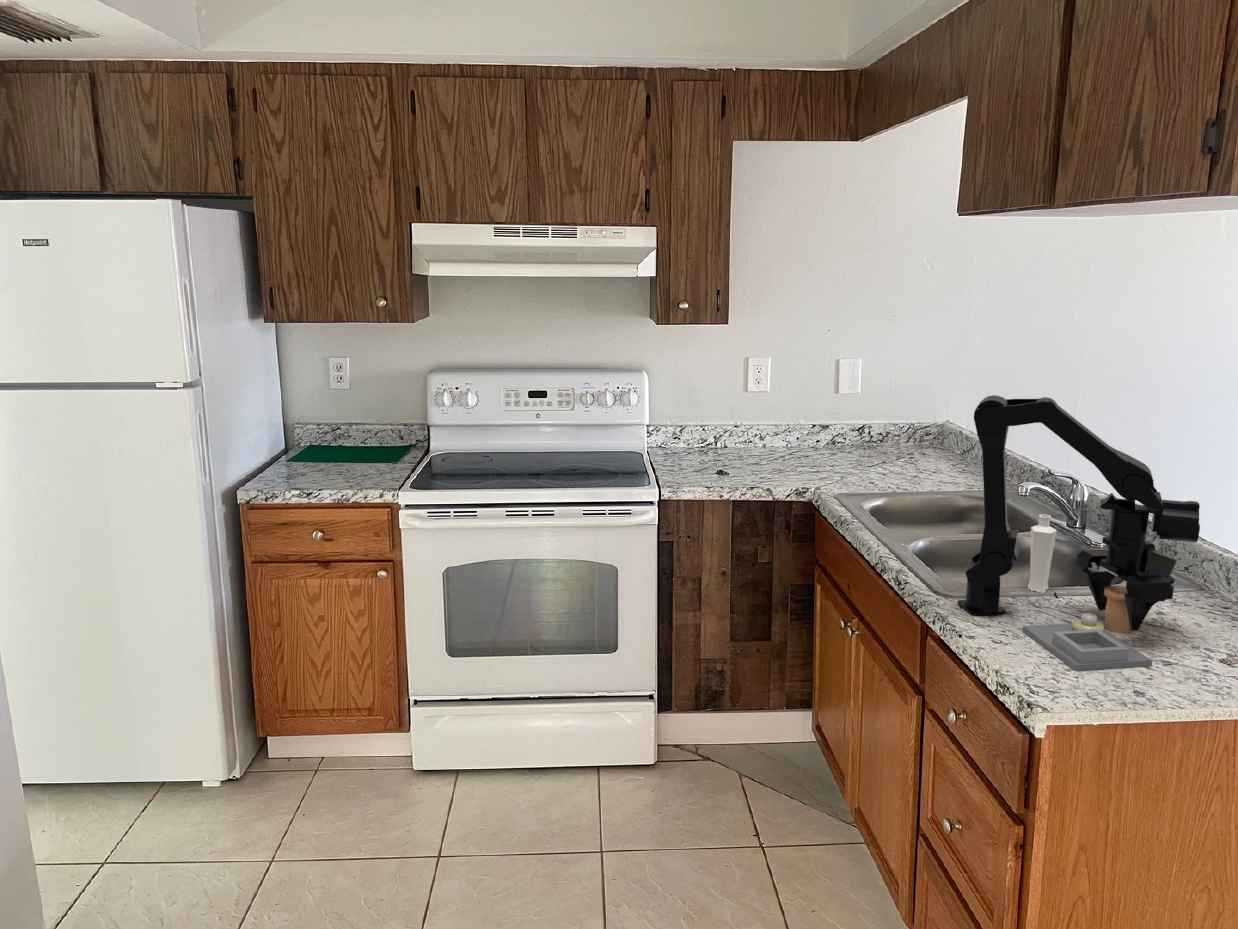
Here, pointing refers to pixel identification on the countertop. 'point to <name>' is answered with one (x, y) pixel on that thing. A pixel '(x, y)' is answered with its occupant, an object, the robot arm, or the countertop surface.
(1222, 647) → the countertop surface
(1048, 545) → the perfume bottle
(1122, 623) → the tan flared peg
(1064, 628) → the housing
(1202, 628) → the countertop surface
